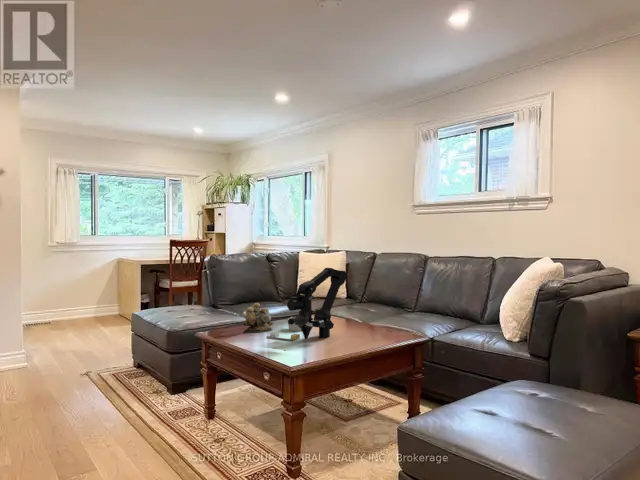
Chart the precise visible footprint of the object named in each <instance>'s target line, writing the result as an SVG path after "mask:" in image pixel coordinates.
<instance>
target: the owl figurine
mask: <svg viewBox="0 0 640 480" xmlns="http://www.w3.org/2000/svg"><path fill="white" fill-rule="evenodd" d="M260 308H261V304H260V303H259V302H254V303H253V304H252V306H249V307H246V309H245V320H244V321H242V324H243V326H245V327H248V328H246V329H245V330H243V334H246V333H248V334H259V333H260V334H262V333H267V332H272V331H273V328H272V327H271V326H272V325H274V322H273V321H271V319H272V316H271V312H270V311H269V309H268V307H262V308H261V309H260Z"/></svg>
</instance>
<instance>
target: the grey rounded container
mask: <svg viewBox="0 0 640 480" xmlns="http://www.w3.org/2000/svg"><path fill="white" fill-rule="evenodd" d="M292 317H293V316H290V317H289V318H292ZM289 318H288V319H287V321H288V320H289ZM287 325H288V326H287V327H288V329H289V331H291V332H302V330H301V328H300V327H298V325H295V323H294V324H293V325H292V324H288V323H287Z"/></svg>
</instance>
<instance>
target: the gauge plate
mask: <svg viewBox="0 0 640 480" xmlns="http://www.w3.org/2000/svg"><path fill="white" fill-rule="evenodd" d="M266 339H271V340H279V341H287V342H294V341H293V339H290V338H284V337H279V336H278V337H270V335H267V336H266Z"/></svg>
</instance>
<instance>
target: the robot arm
mask: <svg viewBox="0 0 640 480" xmlns="http://www.w3.org/2000/svg"><path fill="white" fill-rule="evenodd" d="M328 278H330V285H329V289H328V290H327V293H326V297H325V298H324V301H323V303H322V306H321V308H320V309H318V308H317V309H316V310H315V313H314V315H312V313H313V312H314V310H313V309H312V305H313V304H312V303H313V301H312V300H314V299H315V298H316V297H315V296H314V295H313V294H314V293H315V292H316V290H317V288H318V287H319V286H320V285H322V283H323V282H325V281H326V280H327V279H328ZM347 278H348V274H347V272H346V270H342V269H340V270H339V269H335V268H332V267H325V268H324V269H322V271H321V272H319V273H318V274H317V275H315V276H314V277H312V279H309V280H307V281H305V282H302V283H300V284H299V285H298V288H297V291H296V292H295V294H294V296H290V297H289V299H288V300H287V302H286V305H287V309H288V310H289V311H290V312H293V311H298V314H297V315H296V316H291V317H292V318H290V317H289V318H288V319H289V320H288V319H287V325H288V324H292V325H293V324H294V323H295V325H298V327H300V328H301V330H302V331H301V332H302V334H303V337H304V339H305V340H307V339H309V338H308V337H309V336H310V334H311V331H312V329H313V328H318V338H319V339H327V338H330V336H331V334H330V333H331V332H330V331H331V329H334V325H335V323H333V322H332V320H331V318H332V315H331V310H332V307H333V305H334V302H335V300H336V297H337V295H338V292H339V290H340V288H341V286H342V285H344V284H345V282H346V280H347ZM312 316H313V317H312Z"/></svg>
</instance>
